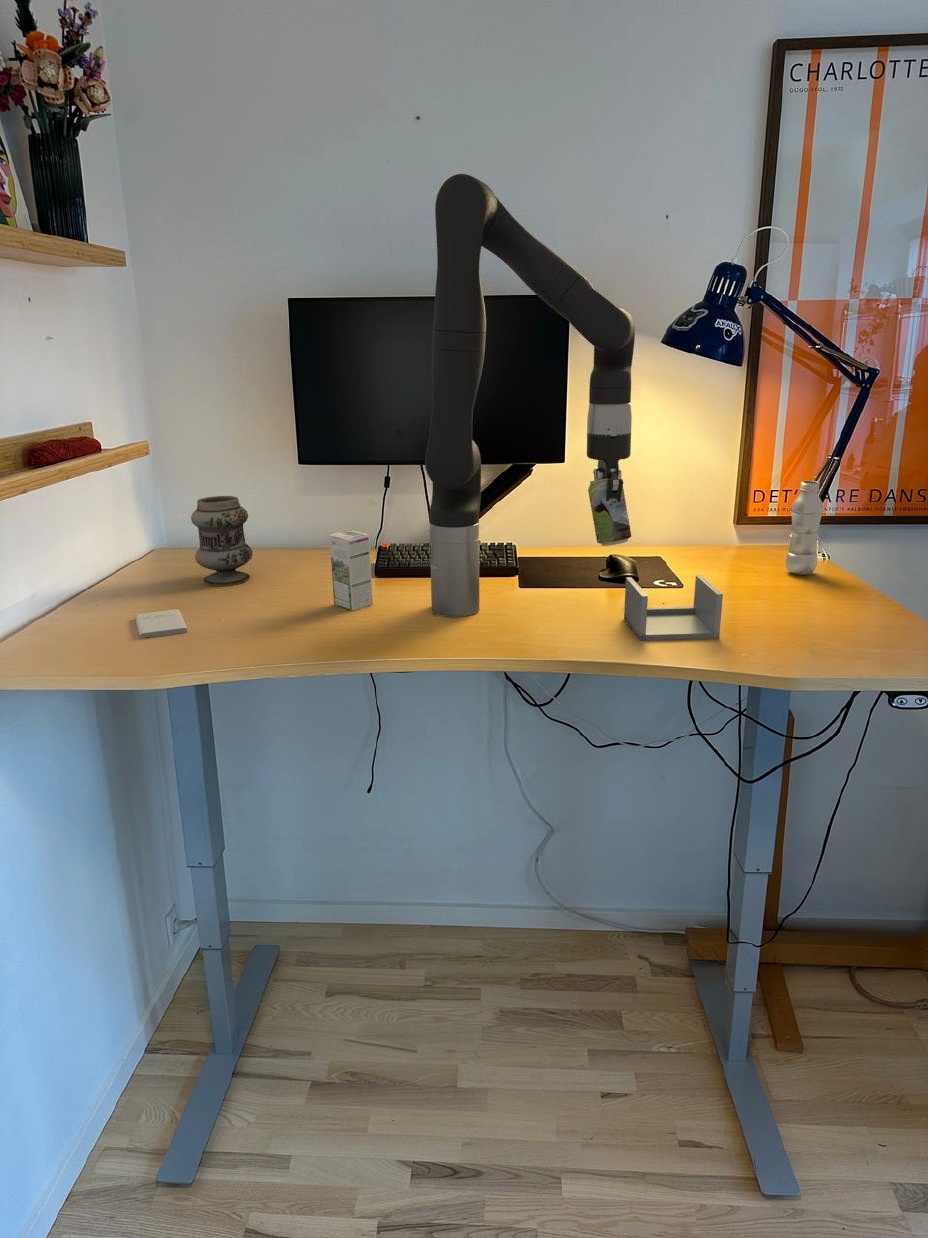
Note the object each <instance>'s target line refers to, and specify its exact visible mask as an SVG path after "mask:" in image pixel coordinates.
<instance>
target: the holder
mask: <svg viewBox="0 0 928 1238" xmlns="http://www.w3.org/2000/svg"><path fill="white" fill-rule="evenodd" d="M624 587H625V591H624V612H623V620H624V621H625V622H626V624H627V625H628V627H629V628H630V630H631V631H632V632H633V633H634V634H635V636H636V637H637V639H638V640H639V641H668V640H669V641H670V640H672V641H673V640H674V641H675V640H702V639H704V640H705V639H708V640H709V639H720V635H721V634H720V633H721V632H720V631H721V621H722V611H723V599H724V594H723V592H721V591H720V590H719V589H718V588H716V586H714V585H713V584H712V583H711V582H709V580H707V579H706V578H705V577H704V576H703V575H702V574H701V575H695V581H694V595H693V596H694V597H693V606H669V607H667V606H666V607H664V606H662V607H648V602H649V601H648V600H649V596H648V594H646V592H645V591H644V590H643V589H642V588H641V586H640V585H639V584H638V583H637V581H635V579H633V578H632V577H629V576H627V577H625V585H624Z"/></svg>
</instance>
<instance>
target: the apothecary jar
mask: <svg viewBox="0 0 928 1238" xmlns="http://www.w3.org/2000/svg"><path fill="white" fill-rule="evenodd" d="M190 519H191V523H192V524H193V525H194V526H195V527H197V531H198V538H199V540H198V541H199V548H198V549H197V550H196V552H195V555H194V557H195V561H196V562H197V564H198V565H200V566H201V567H202V568H205V569H207V570H211V571H215V572H213V573H210V574H209V575H207V576H205V577H204V579H203V584H204V585H207V586H209V587H227V586H228V587H230V586H235V585H240V584H243V583H246V582H247V581H249V580H250V578H251V577H250V575H249V573H247V572H244V571H240V570H236V569H238V568H240V567H243V566H244V565H246V564H247V563H249V561H250V560H251V559H252V557H253V550H252V547H250V545H248V544H247V543H246V538H245V531H244V524H245V523H246V522H247V521H248V519H249V514H248V511H247V510H246V509H245V508H244V507H243V506H241V504H240V502H239V498H238V497H237V496H236V495H235V496H233V495H216V496H215V495H213V496H208V497H203V498H199V499H197V501H196V509H195V510H194V511H193V512H192V514H191V516H190Z"/></svg>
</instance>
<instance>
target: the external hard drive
mask: <svg viewBox="0 0 928 1238" xmlns="http://www.w3.org/2000/svg"><path fill="white" fill-rule="evenodd" d="M134 618H135V620H134V621H135V624H136V627H137V628H138V629H137V631H138V632H139V633H138V636H140V637H139V639H140V638H145V639H147V638H146V637H152V638H155V637H154V636H160V637H164V636H163V635H167V636H172V635H171V634H174V635H180V634H179V633H181V634H187V633H188V627H187V625H186V623H185V620H184V617H183V615H182V613H181V611H180V609H177V608H176V609H169V610H161V611H152V612H144V613H137V614H135V615H134Z"/></svg>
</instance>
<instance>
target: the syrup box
mask: <svg viewBox="0 0 928 1238" xmlns="http://www.w3.org/2000/svg"><path fill="white" fill-rule="evenodd" d="M328 537H329V549H330V563H331V577H332V578H331V579H332V591H333V592H332V593H333V605H334V606H336V607H338V608H339V607H340V608H342V609H345V610H349V611H356V610H357V611H358V610H361V609H364V608H368V607H370V606H373V605H374V598H373V597H374V596H373V584H372V581H373V580H372V564H371V546H370V545H371V544H370V534H368V533H364V532H359V531H357V530H351V529H349V530H342V531H337V532H335V533H333V534H329V536H328Z"/></svg>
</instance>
